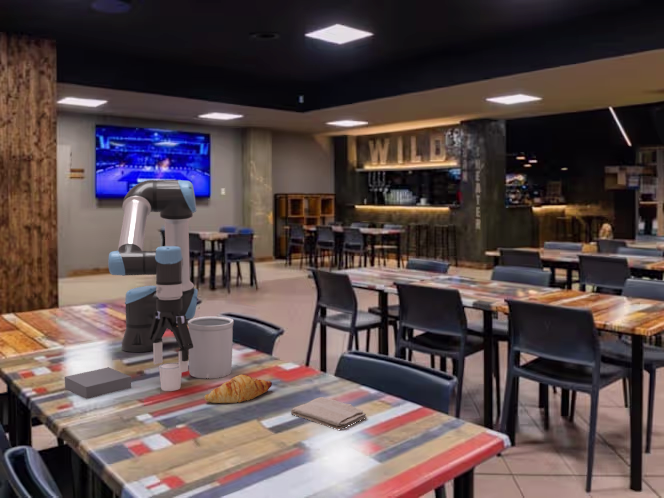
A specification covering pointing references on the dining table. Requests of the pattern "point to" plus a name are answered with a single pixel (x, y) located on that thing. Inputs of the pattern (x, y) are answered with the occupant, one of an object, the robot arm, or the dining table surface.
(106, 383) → the block
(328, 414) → the washcloth
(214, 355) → the utensil holder
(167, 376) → the shot glass
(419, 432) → the dining table surface
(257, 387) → the croissant
